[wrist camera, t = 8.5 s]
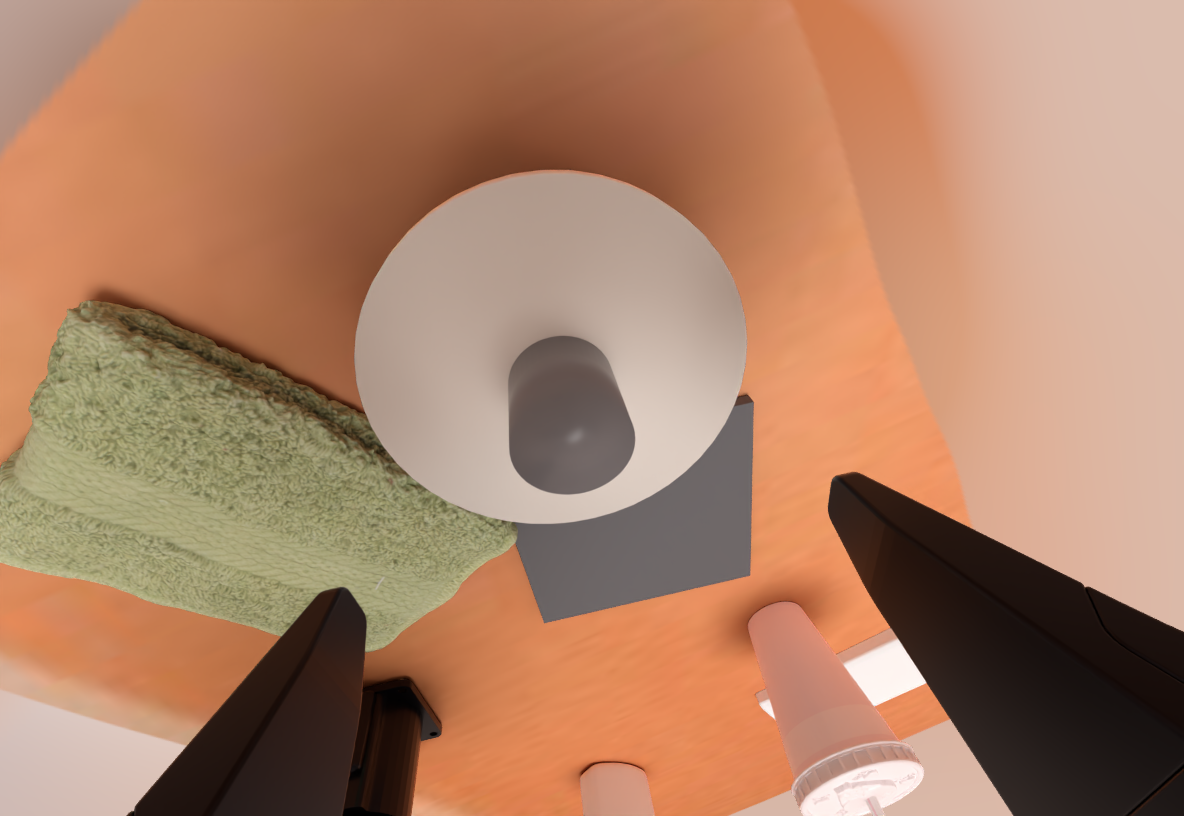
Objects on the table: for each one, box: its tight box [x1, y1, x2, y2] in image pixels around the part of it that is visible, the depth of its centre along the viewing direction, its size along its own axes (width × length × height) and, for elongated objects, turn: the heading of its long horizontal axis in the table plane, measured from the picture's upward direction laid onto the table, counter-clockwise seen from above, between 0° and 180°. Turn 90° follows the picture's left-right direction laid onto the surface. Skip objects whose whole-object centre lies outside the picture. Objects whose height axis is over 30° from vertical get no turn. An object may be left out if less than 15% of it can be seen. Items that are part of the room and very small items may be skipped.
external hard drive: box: [755, 628, 926, 720], centre depth 38 cm, size 2×8×12 cm
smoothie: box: [748, 602, 924, 816], centre depth 27 cm, size 6×6×14 cm
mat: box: [513, 395, 754, 623], centre depth 26 cm, size 12×12×1 cm
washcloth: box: [0, 300, 518, 652], centre depth 21 cm, size 13×18×3 cm
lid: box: [354, 170, 747, 524], centre depth 14 cm, size 11×11×4 cm
